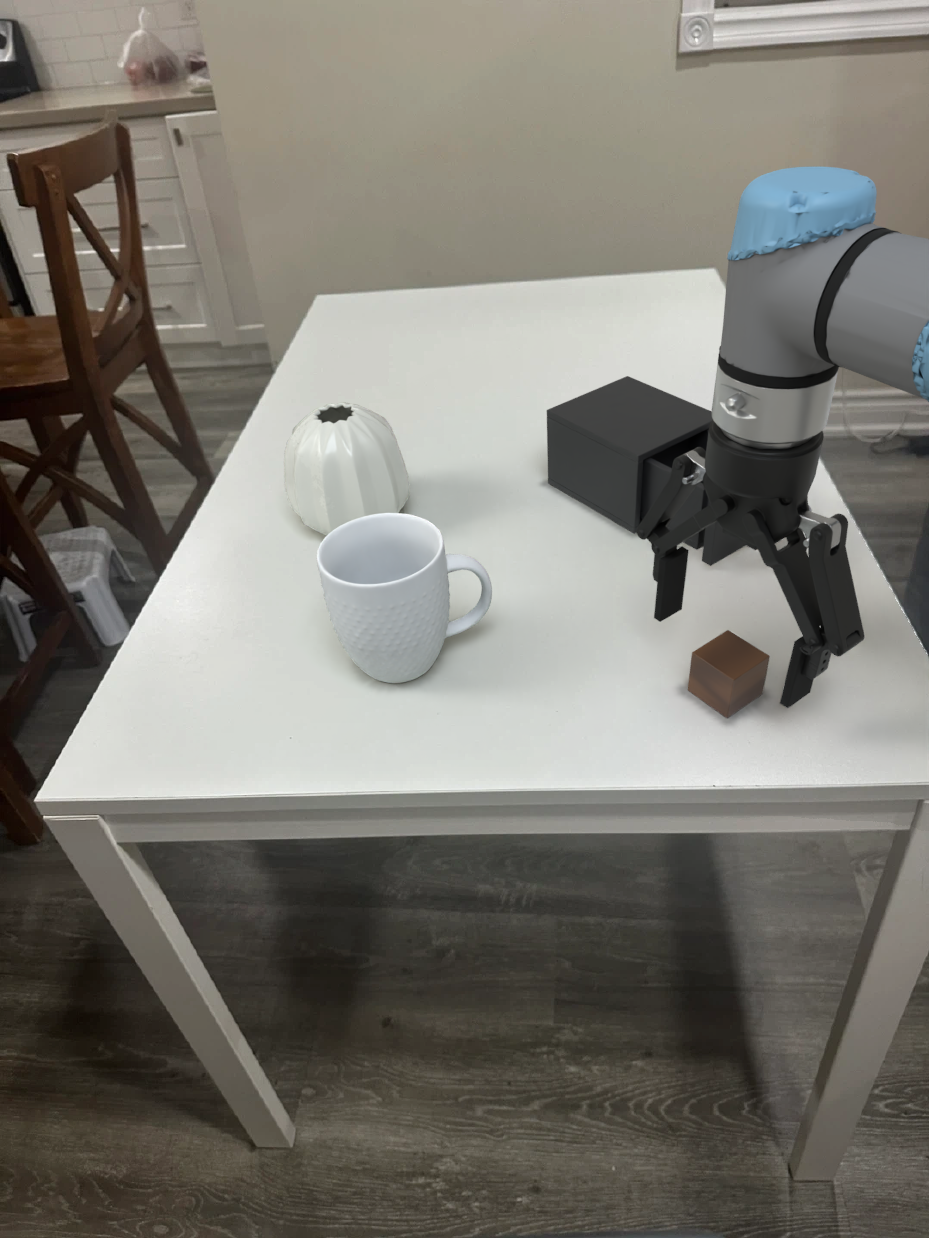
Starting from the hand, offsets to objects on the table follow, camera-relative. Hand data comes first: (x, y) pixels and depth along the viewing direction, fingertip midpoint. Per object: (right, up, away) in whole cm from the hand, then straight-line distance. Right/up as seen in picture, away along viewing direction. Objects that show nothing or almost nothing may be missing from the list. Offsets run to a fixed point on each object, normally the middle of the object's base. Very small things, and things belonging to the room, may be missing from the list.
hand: (727, 653), depth 72 cm
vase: (-35, +15, +29) cm, 48 cm away
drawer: (+5, +13, +20) cm, 25 cm away
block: (+1, -3, +3) cm, 4 cm away
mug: (-27, -1, +9) cm, 29 cm away
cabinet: (-3, +18, +29) cm, 35 cm away
